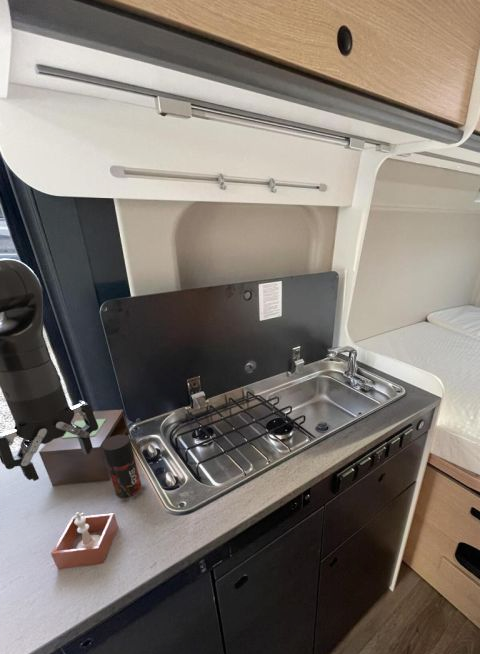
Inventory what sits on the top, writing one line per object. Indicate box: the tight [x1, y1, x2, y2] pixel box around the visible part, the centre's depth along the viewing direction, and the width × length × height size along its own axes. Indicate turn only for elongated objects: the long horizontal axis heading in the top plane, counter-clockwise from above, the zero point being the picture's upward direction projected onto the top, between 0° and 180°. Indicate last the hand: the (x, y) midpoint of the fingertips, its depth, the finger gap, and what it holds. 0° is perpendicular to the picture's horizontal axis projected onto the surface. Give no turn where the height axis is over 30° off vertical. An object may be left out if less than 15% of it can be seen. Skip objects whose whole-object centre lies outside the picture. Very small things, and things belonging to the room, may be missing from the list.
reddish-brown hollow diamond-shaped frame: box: [50, 512, 119, 570], centre depth 68 cm, size 9×9×4 cm
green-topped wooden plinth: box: [38, 409, 130, 486], centre depth 92 cm, size 14×18×11 cm
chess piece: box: [72, 511, 101, 549], centre depth 67 cm, size 5×5×10 cm
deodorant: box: [102, 435, 142, 499], centre depth 81 cm, size 6×6×15 cm
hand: (61, 464), depth 60 cm, fingers open, 8 cm apart
